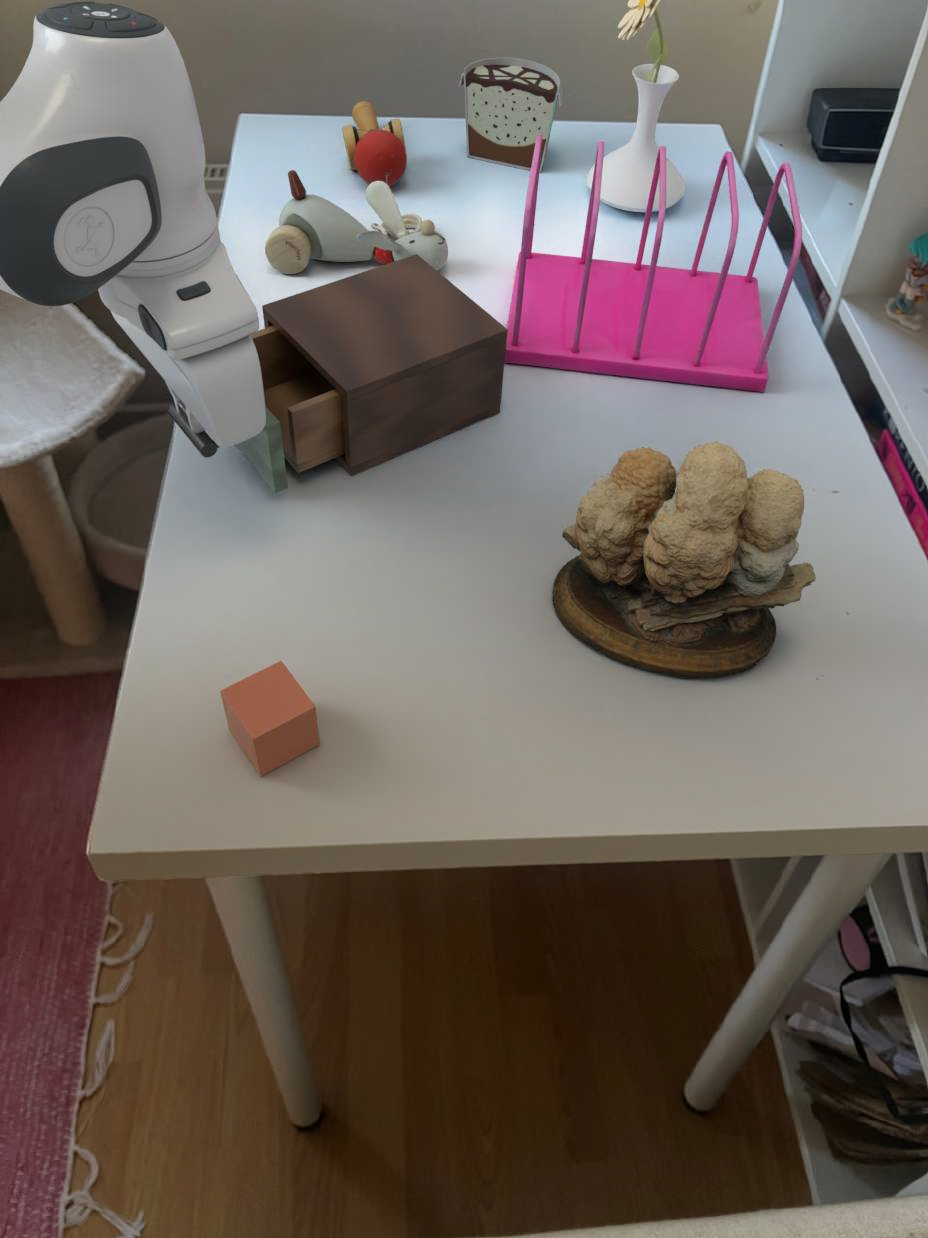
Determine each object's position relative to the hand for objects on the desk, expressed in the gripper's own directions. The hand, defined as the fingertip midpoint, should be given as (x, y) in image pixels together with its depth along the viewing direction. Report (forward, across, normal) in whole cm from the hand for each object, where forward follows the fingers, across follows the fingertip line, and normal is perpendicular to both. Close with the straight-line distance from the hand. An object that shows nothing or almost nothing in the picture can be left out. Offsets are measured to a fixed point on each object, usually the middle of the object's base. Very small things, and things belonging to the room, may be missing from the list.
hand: (196, 421), depth 80 cm
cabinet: (+6, 0, +18) cm, 19 cm away
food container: (+7, -32, +57) cm, 66 cm away
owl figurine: (+6, +33, +22) cm, 40 cm away
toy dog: (+6, -22, +28) cm, 36 cm away
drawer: (+5, 0, +8) cm, 10 cm away
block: (+5, +26, -8) cm, 28 cm away
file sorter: (+7, +3, +45) cm, 46 cm away
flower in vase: (+8, -16, +62) cm, 64 cm away
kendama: (+7, -40, +41) cm, 58 cm away
